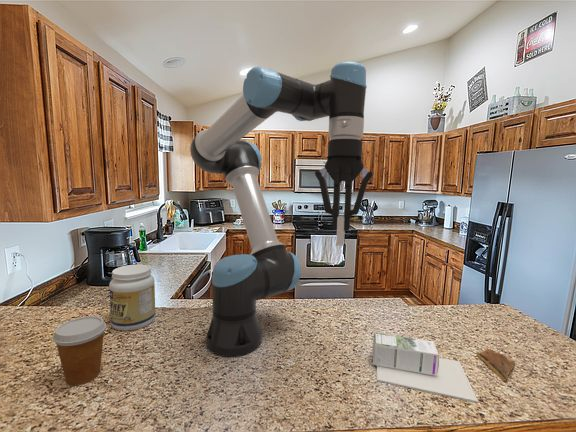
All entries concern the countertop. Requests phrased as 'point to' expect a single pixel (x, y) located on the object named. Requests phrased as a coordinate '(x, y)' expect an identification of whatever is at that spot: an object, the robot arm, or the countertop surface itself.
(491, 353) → the shard
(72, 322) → the disposable coffee cup
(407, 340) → the syrup box
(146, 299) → the supplement tub
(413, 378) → the mat
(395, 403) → the countertop surface
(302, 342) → the countertop surface
